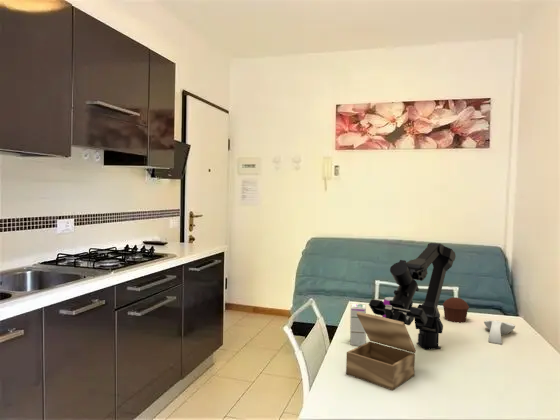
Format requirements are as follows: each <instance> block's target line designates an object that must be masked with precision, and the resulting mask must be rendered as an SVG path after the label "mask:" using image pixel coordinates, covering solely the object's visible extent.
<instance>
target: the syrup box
mask: <svg viewBox="0 0 560 420" xmlns="http://www.w3.org/2000/svg"><path fill="white" fill-rule="evenodd" d="M357 312H362V313H366V314H367V305H366V304H362V303H351V304H350V316H349V318H350V320H349V322H350V325H349V326H350V329H349V330H350V331H349V333H350V337H349V338H350V339H349V341H350V342H349V343H350V344H349V345H351V346H357V347H359V346H361V345H363V344H365V343H367V340H366V339H367V334H366V332H365V330H364V328H363V326H362V324H361V322H360V320H359V318H358V316H357Z"/></svg>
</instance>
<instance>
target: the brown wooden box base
mask: <svg viewBox="0 0 560 420" xmlns="http://www.w3.org/2000/svg"><path fill="white" fill-rule="evenodd" d="M345 359H346V362H345V363H346V365H345V366H346V367H345V370H346V371H345V374H346V375H347V376H351V377H353V378H355V379H359V380H362V381H365V382H369V383H371V384H373V385H376V386H379V387H382V388H385V389H388V390H391V391H394V390H395V389H397V388H398V387H400V386H402V385H404V383H406V382H407V381H409V380H410V379H412V378H414V377H415V364H416V363H415V359H416V353H412V352H409V351H405V350H401V349H398V348H394V347H390V346H387V345H383V344H380V343H376V342H372V341H368V342H366V343H365V344H363V345H361V346H357V347H354V348H352V349H350V350H348V351H346V358H345Z"/></svg>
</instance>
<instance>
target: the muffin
mask: <svg viewBox="0 0 560 420" xmlns="http://www.w3.org/2000/svg"><path fill="white" fill-rule="evenodd" d="M442 307H443V312H444V313H443V314H444V320H446V321H448V322H452V323H457V322H459V323H461V322H462V323H465V322H466V321H467V315H468V312H469V309H470V305H468V303H467V302H466V300H464V299H463V298H461V297H449V298H447V299H446V300H444V302H443V303H442ZM459 323H458V324H459Z"/></svg>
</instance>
